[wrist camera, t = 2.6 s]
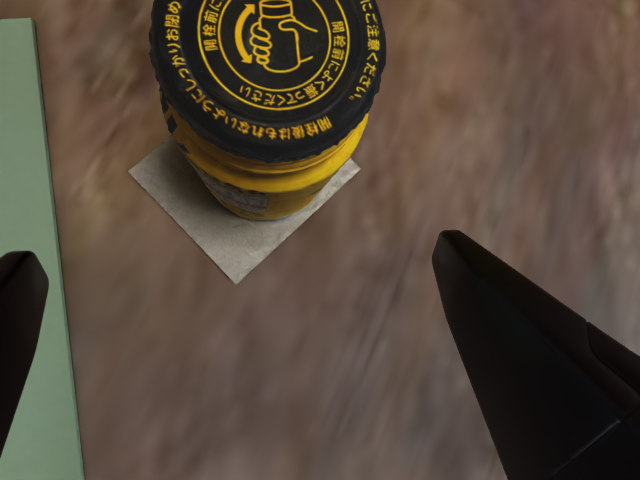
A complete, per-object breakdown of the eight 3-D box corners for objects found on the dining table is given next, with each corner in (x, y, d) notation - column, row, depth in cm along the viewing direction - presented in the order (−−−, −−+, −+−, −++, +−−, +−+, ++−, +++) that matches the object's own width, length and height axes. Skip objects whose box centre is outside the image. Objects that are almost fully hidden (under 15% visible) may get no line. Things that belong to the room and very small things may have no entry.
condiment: (359, 169, 21) (485, 56, 9) (236, 284, 20) (202, 319, 8) (261, 61, 21) (265, -199, 9) (129, 172, 20) (-66, 42, 8)
